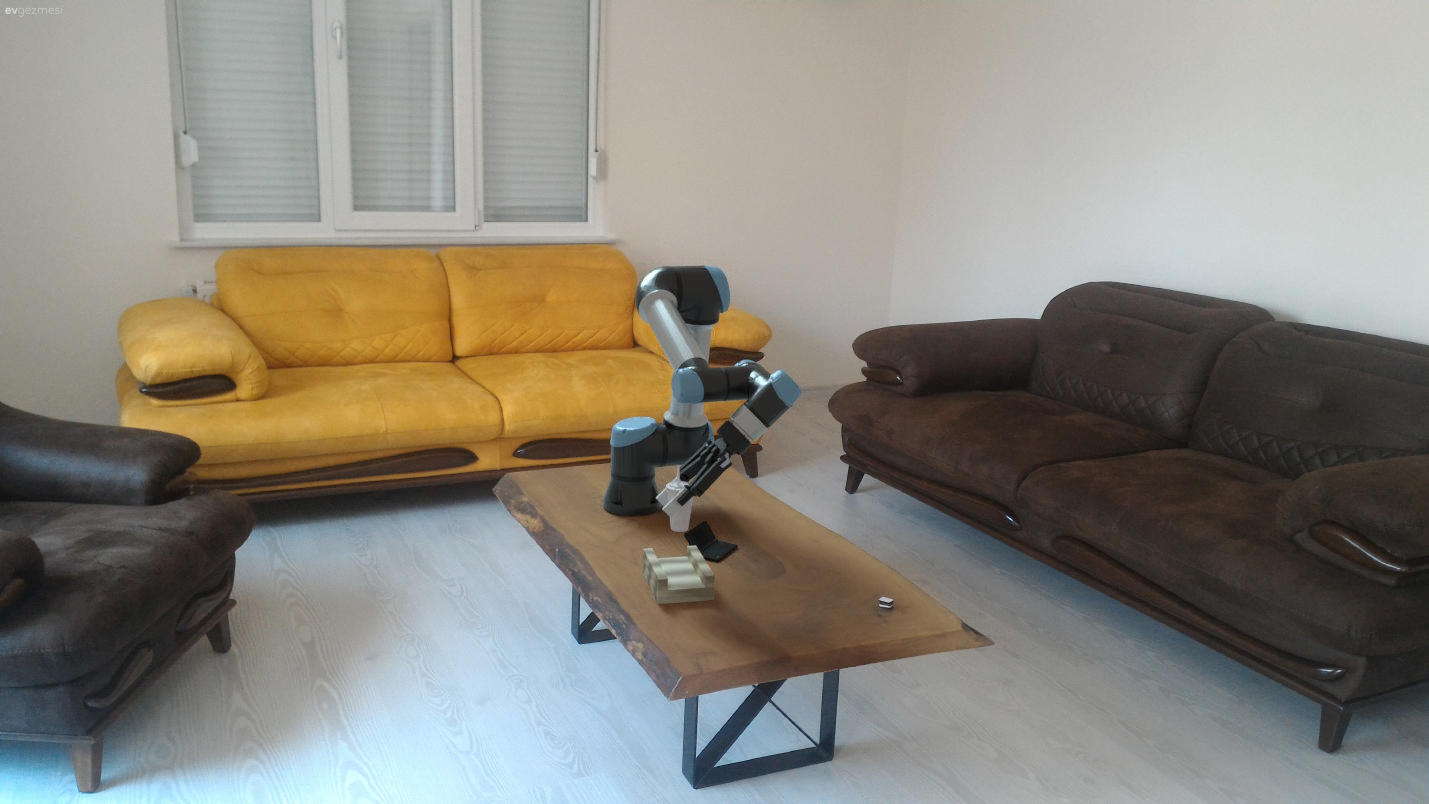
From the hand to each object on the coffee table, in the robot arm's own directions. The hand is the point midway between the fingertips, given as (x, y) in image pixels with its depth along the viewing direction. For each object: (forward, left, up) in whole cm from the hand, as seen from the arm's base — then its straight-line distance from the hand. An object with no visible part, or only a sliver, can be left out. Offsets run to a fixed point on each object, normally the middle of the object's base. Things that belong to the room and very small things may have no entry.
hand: (663, 507), depth 216 cm
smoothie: (0, +4, -5) cm, 6 cm away
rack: (0, +3, -18) cm, 18 cm away
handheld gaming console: (-18, +15, -19) cm, 30 cm away
